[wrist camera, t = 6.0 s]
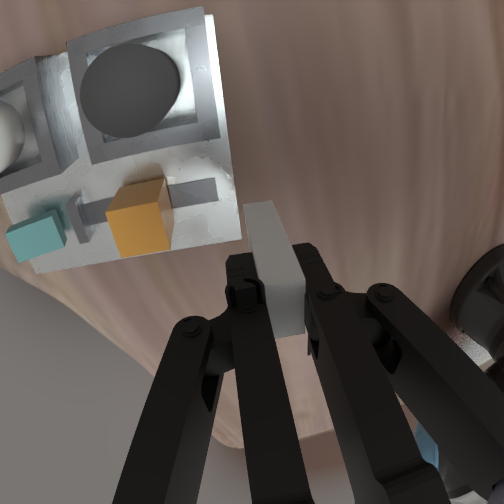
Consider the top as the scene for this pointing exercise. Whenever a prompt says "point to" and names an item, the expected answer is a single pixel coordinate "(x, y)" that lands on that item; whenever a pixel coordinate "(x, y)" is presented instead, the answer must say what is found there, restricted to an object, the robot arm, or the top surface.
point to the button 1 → (10, 135)
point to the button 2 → (129, 89)
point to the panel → (122, 144)
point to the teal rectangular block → (36, 236)
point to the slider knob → (141, 218)
